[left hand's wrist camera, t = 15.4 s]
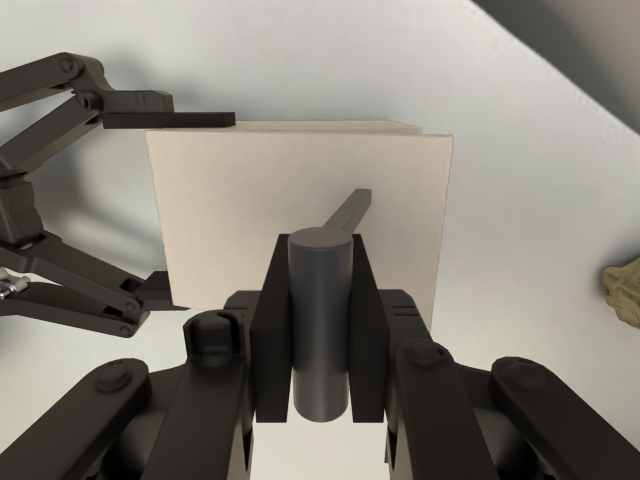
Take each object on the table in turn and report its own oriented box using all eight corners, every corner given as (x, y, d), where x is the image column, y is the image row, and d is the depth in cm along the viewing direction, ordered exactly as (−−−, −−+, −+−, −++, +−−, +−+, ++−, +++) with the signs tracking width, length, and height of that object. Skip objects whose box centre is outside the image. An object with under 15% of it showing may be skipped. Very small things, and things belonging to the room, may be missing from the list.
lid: (452, 134, 15) (471, 168, 7) (428, 336, 18) (424, 503, 11) (157, 129, 19) (-34, 147, 11) (183, 297, 22) (51, 400, 14)
